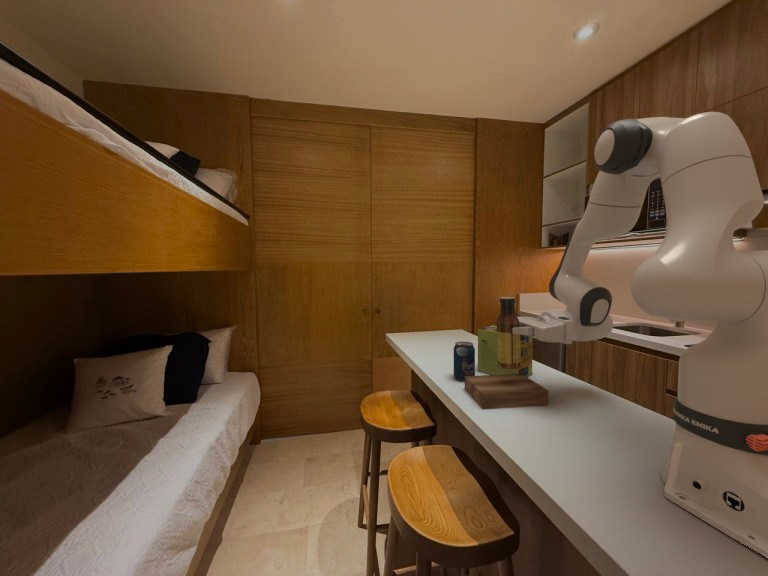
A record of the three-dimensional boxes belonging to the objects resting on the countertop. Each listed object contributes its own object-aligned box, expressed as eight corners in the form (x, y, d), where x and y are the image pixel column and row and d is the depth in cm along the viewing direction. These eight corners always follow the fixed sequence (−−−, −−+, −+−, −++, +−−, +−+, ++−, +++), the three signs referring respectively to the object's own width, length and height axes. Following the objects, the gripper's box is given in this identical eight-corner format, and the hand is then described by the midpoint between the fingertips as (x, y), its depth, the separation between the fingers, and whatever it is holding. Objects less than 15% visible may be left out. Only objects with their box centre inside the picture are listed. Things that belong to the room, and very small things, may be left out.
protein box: (519, 382, 103) (519, 334, 102) (476, 371, 115) (477, 328, 114) (533, 374, 110) (533, 330, 109) (492, 365, 122) (492, 324, 121)
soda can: (467, 384, 102) (467, 346, 101) (449, 378, 107) (449, 343, 107) (479, 378, 107) (479, 343, 106) (461, 374, 112) (461, 340, 111)
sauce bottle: (516, 363, 94) (517, 296, 93) (523, 370, 88) (524, 298, 86) (493, 362, 95) (494, 296, 93) (499, 369, 89) (499, 298, 87)
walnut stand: (548, 405, 86) (548, 390, 85) (483, 408, 84) (483, 393, 84) (520, 386, 99) (521, 373, 99) (464, 389, 98) (464, 376, 98)
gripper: (532, 311, 102) (490, 312, 101) (576, 321, 81) (524, 322, 80) (532, 330, 102) (490, 332, 101) (575, 345, 82) (524, 347, 81)
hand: (505, 328), depth 90 cm, fingers closed on sauce bottle, 6 cm apart
